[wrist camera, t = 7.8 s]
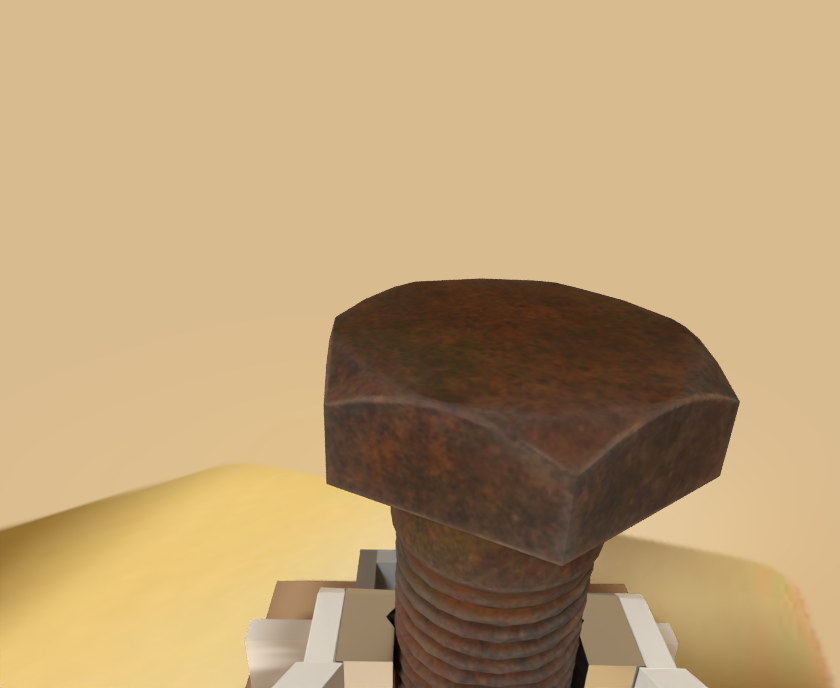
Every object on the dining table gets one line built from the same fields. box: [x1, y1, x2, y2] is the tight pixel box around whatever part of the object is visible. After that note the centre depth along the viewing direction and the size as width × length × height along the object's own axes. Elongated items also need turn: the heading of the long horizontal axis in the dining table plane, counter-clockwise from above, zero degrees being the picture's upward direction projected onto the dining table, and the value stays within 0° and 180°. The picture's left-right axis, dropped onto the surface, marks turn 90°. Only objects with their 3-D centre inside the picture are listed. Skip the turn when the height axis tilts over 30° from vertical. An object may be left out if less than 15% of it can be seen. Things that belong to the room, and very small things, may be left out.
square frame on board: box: [245, 550, 679, 688], centre depth 29 cm, size 22×14×6 cm, turn 90°
